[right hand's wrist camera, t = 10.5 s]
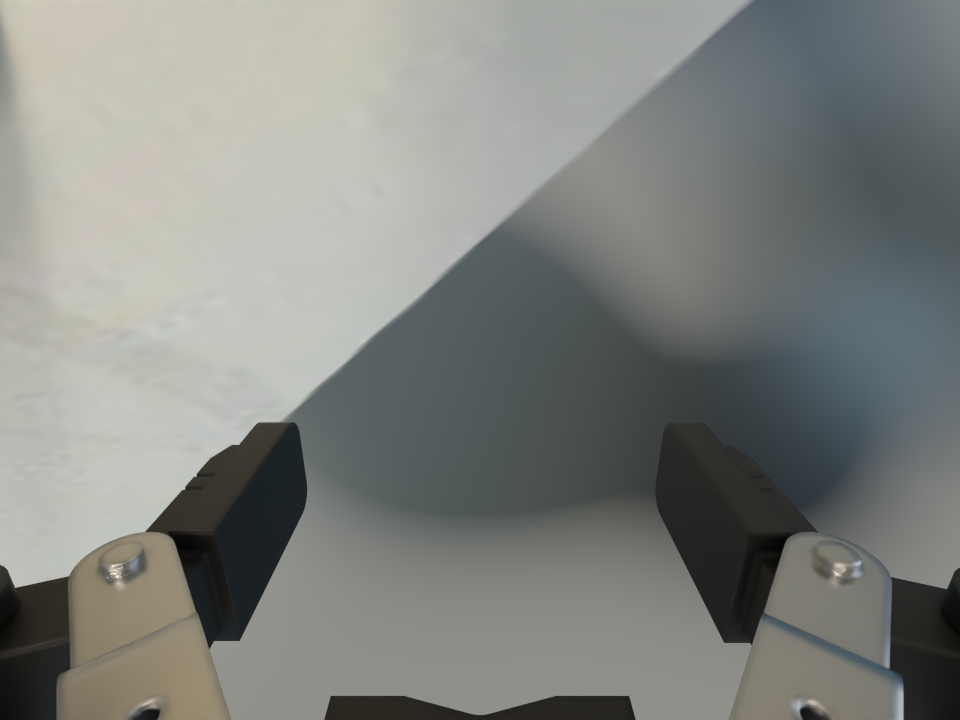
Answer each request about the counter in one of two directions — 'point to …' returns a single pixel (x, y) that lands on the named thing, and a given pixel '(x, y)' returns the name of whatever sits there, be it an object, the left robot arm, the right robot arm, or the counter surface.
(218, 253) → the counter surface
